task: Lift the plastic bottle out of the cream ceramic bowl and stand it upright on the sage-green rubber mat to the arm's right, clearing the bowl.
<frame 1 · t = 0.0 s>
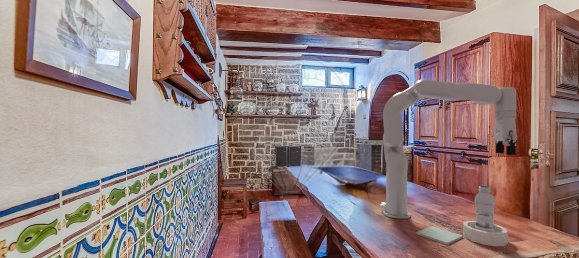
hand: (505, 154, 118), 31 cm above the table, tool pointing down, fingers open, 9 cm apart
mat: (439, 235, 105), on the table
bowl: (484, 238, 102), on the table
plastic bottle: (484, 239, 102), resting in bowl
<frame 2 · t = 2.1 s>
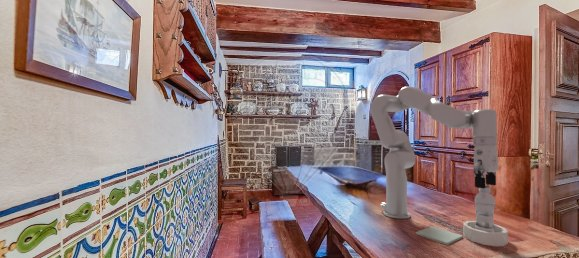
hand: (485, 186, 102), 20 cm above the table, tool pointing down, fingers open, 9 cm apart
nothing on the table moved.
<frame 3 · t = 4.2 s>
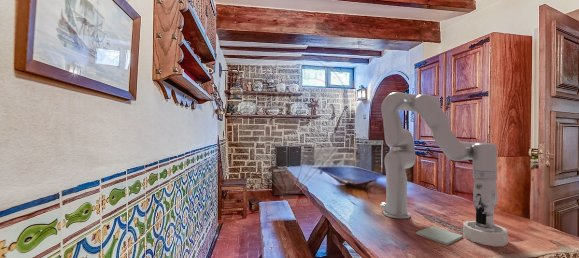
hand: (484, 221, 102), 7 cm above the table, tool pointing down, fingers closed on plastic bottle, 5 cm apart
plastic bottle: (484, 239, 102), resting in bowl, touching gripper
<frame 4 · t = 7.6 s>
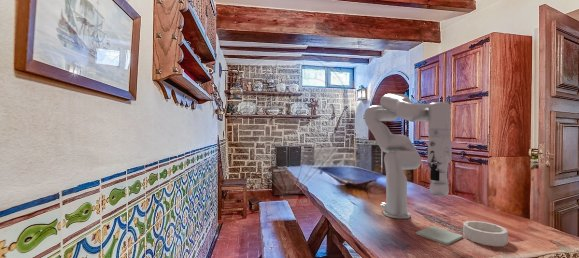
hand: (439, 179, 105), 22 cm above the table, tool pointing down, fingers closed on plastic bottle, 5 cm apart
plastic bottle: (439, 196, 105), point 16 cm above the table, touching gripper
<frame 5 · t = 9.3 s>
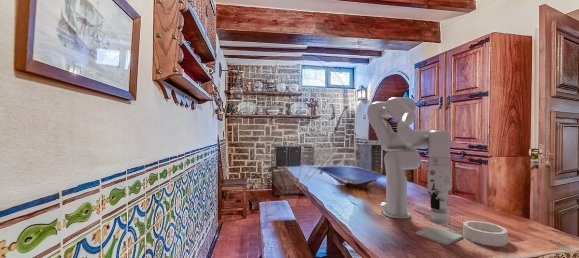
hand: (439, 207, 104), 11 cm above the table, tool pointing down, fingers closed on plastic bottle, 5 cm apart
plastic bottle: (439, 224, 104), point 5 cm above the table, touching gripper
when the fingers open (8 cm above the table, at t = 10.9 s): plastic bottle stays where it is, resting on mat.
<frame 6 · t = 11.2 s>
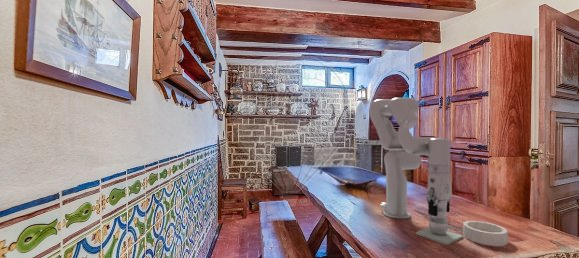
hand: (439, 213, 105), 9 cm above the table, tool pointing down, fingers open, 8 cm apart
plastic bottle: (438, 233, 105), point 1 cm above the table, touching mat
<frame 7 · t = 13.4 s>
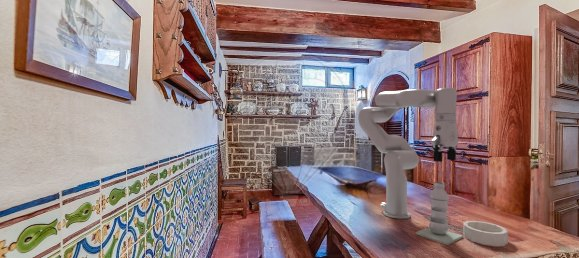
hand: (444, 160, 108), 29 cm above the table, tool pointing down, fingers open, 9 cm apart
nothing on the table moved.
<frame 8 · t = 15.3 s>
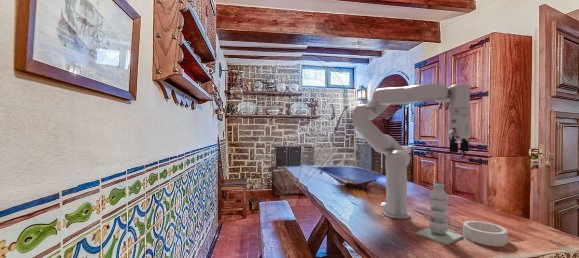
hand: (459, 151, 116), 32 cm above the table, tool pointing down, fingers open, 9 cm apart
nothing on the table moved.
at the end: plastic bottle inside the target area on the mat (0.4 cm from its centre), point 0.6 cm above the mat's base; plastic bottle tilted 1°; the gripper is holding nothing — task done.
